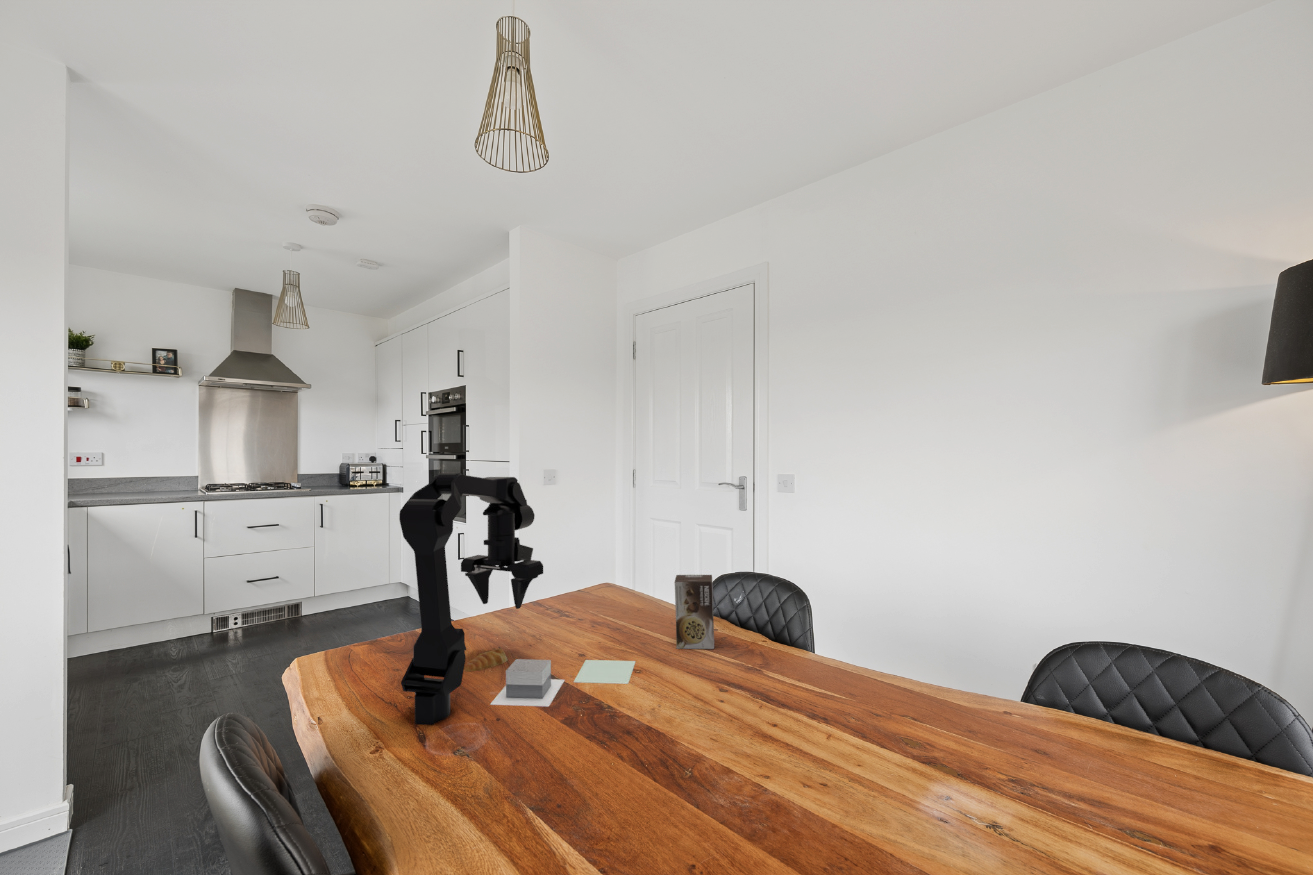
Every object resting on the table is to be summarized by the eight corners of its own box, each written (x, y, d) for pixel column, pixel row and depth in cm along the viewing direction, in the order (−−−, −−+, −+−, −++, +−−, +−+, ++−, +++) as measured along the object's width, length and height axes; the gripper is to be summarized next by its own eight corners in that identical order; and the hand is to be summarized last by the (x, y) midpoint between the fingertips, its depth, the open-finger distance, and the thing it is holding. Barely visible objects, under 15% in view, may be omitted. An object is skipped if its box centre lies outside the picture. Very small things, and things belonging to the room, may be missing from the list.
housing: (542, 698, 101) (542, 671, 101) (506, 697, 102) (505, 670, 102) (551, 685, 107) (550, 659, 107) (516, 684, 108) (516, 659, 108)
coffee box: (714, 639, 134) (713, 574, 134) (714, 649, 128) (713, 580, 128) (677, 639, 135) (676, 573, 135) (675, 649, 129) (674, 580, 129)
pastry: (472, 683, 112) (472, 664, 113) (455, 674, 117) (455, 656, 117) (511, 668, 120) (510, 650, 120) (493, 660, 124) (493, 644, 124)
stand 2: (628, 691, 107) (628, 683, 107) (573, 689, 108) (573, 682, 108) (635, 667, 118) (635, 661, 118) (585, 666, 119) (585, 659, 119)
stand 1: (548, 714, 98) (548, 706, 98) (490, 712, 100) (489, 704, 100) (564, 687, 109) (564, 679, 109) (511, 685, 110) (511, 678, 110)
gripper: (558, 531, 122) (558, 601, 122) (494, 527, 131) (494, 592, 130) (526, 538, 112) (526, 615, 112) (458, 533, 121) (459, 604, 120)
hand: (501, 606), depth 119 cm, fingers open, 9 cm apart
